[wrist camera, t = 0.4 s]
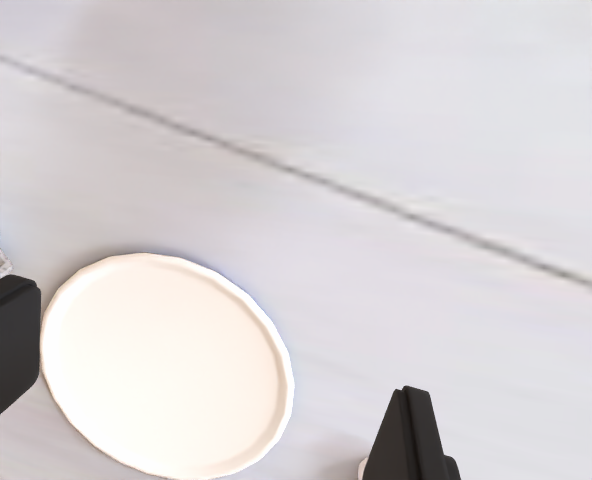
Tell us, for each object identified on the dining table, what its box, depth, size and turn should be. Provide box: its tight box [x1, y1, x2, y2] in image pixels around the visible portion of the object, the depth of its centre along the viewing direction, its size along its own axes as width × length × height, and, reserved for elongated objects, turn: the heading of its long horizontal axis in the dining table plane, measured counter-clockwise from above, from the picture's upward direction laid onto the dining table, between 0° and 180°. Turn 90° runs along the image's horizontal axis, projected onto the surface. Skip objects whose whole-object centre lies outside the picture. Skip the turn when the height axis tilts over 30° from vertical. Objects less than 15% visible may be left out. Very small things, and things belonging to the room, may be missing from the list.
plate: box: [40, 252, 294, 480], centre depth 47 cm, size 29×29×1 cm
